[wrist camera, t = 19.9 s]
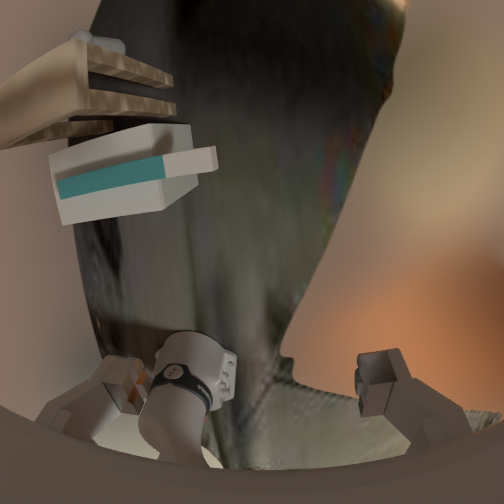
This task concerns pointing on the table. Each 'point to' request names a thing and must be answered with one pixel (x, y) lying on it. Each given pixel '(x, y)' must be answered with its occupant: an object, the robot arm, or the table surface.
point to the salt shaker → (100, 41)
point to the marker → (140, 171)
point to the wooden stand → (74, 94)
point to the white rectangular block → (116, 152)
